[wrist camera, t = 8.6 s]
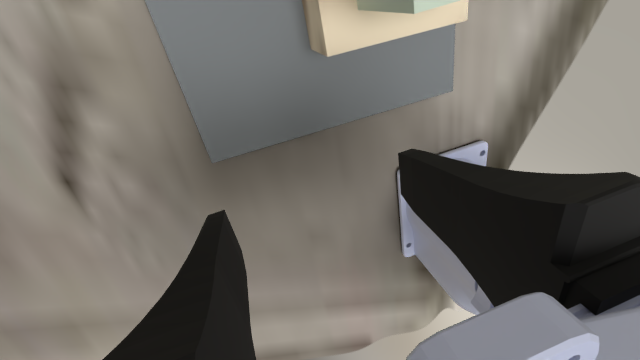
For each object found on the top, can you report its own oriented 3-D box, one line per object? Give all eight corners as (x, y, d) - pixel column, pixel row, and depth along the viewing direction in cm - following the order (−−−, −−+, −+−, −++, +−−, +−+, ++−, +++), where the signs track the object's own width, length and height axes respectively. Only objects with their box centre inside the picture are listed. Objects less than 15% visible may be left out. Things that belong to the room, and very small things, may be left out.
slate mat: (447, 89, 23) (452, 90, 23) (211, 159, 21) (212, 163, 20) (454, -191, 16) (462, -197, 15) (89, -140, 13) (84, -145, 13)
